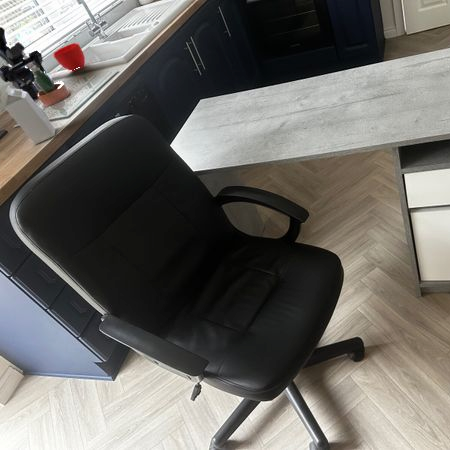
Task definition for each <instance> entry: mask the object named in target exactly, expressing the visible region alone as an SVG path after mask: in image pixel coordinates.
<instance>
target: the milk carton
mask: <svg viewBox="0 0 450 450" xmlns="http://www.w3.org/2000/svg"><path fill="white" fill-rule="evenodd" d="M5 94H6V96H7V97H6V101H5V104H4V109H5V110H6V111H7V112H8V113H9V115H10V116H11V118H13V120H14V121H15V122H16V123H17V124H18V125H19V126H20V128H21V129H22V130H23V132H24V133H25V134H26V135H27V136H28V137H29V138H30V140H31V141H32V143H34V144H35V145H37V144H40V143H42V142H44V141H46V140H48V139H50V138H53V137H55V134H56V127H55V126H54V125H53V123H52V122H51V121H50V120H49V118H48V117H47V116H46V115H45V113H44V112H43V111H42V110H41V108H40V107H39V105H38V104H37V103H36V102H35V100H33V99H32V98H31V97H30V95H29V94H28V93H27V92H25V91H23V90H22V89H21V90H20V89H16V88H12V87H11V86H10V85H7V87H6V89H5Z"/></svg>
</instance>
